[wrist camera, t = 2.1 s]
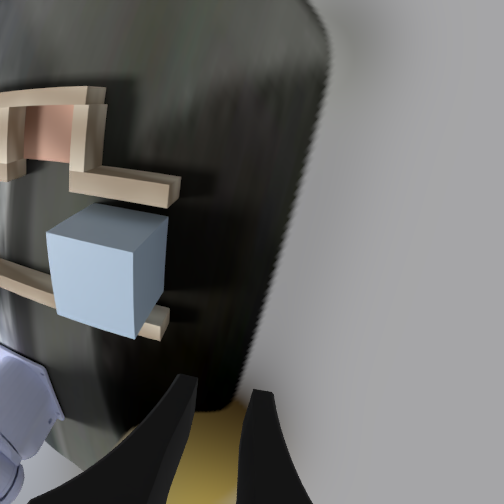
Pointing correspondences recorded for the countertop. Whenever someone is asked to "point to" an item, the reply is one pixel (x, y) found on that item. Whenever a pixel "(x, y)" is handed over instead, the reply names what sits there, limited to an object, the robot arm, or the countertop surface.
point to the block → (108, 266)
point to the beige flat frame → (72, 169)
